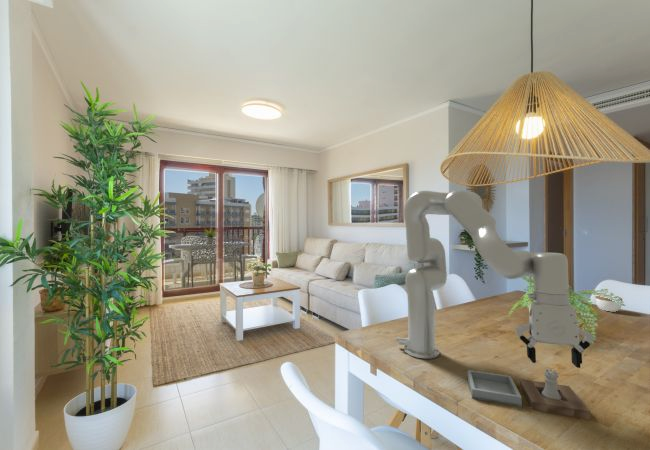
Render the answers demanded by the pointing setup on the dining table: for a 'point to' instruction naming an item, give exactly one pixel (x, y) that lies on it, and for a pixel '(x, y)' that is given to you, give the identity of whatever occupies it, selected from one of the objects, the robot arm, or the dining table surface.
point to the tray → (494, 388)
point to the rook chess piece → (551, 385)
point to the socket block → (554, 400)
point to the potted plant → (607, 304)
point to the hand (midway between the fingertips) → (553, 363)
